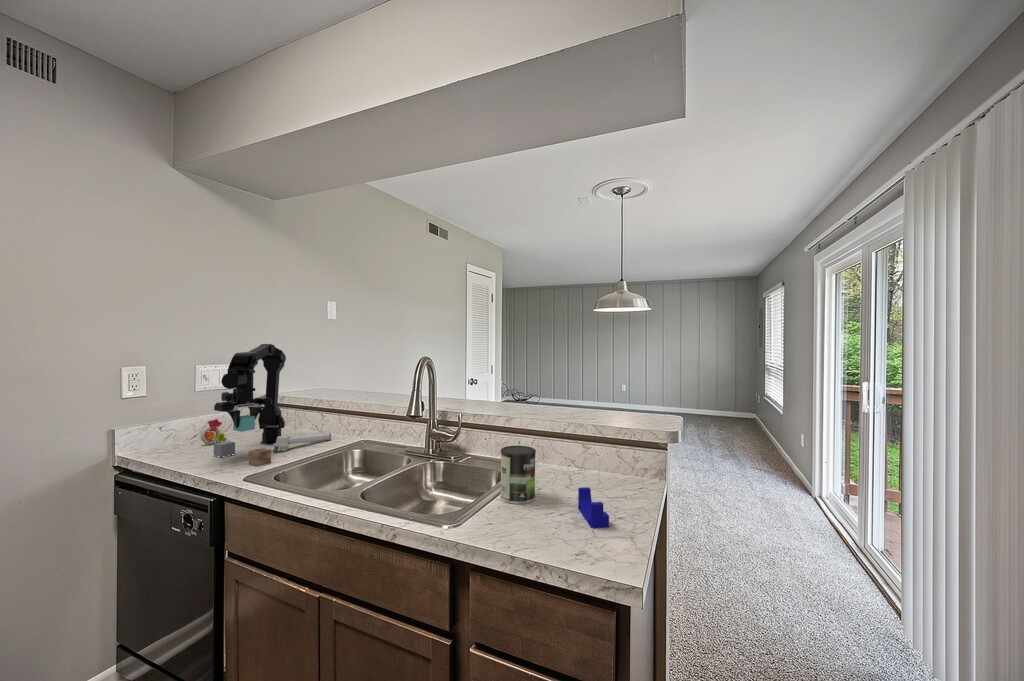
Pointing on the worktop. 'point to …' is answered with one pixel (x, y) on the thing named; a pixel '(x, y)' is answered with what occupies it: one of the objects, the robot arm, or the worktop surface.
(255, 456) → the walnut block
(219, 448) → the charcoal block
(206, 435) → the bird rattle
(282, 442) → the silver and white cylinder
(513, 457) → the coffee can
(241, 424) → the teal block
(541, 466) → the worktop surface
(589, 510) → the blue stepped block
